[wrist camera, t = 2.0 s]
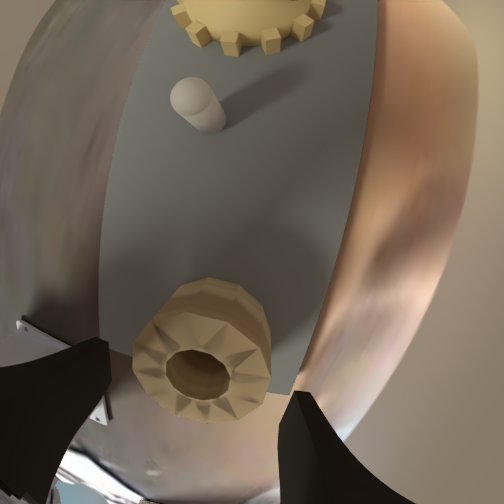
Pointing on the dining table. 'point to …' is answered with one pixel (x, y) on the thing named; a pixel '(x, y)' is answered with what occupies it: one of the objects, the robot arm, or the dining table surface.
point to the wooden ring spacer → (206, 352)
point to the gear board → (238, 162)
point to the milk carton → (146, 502)
